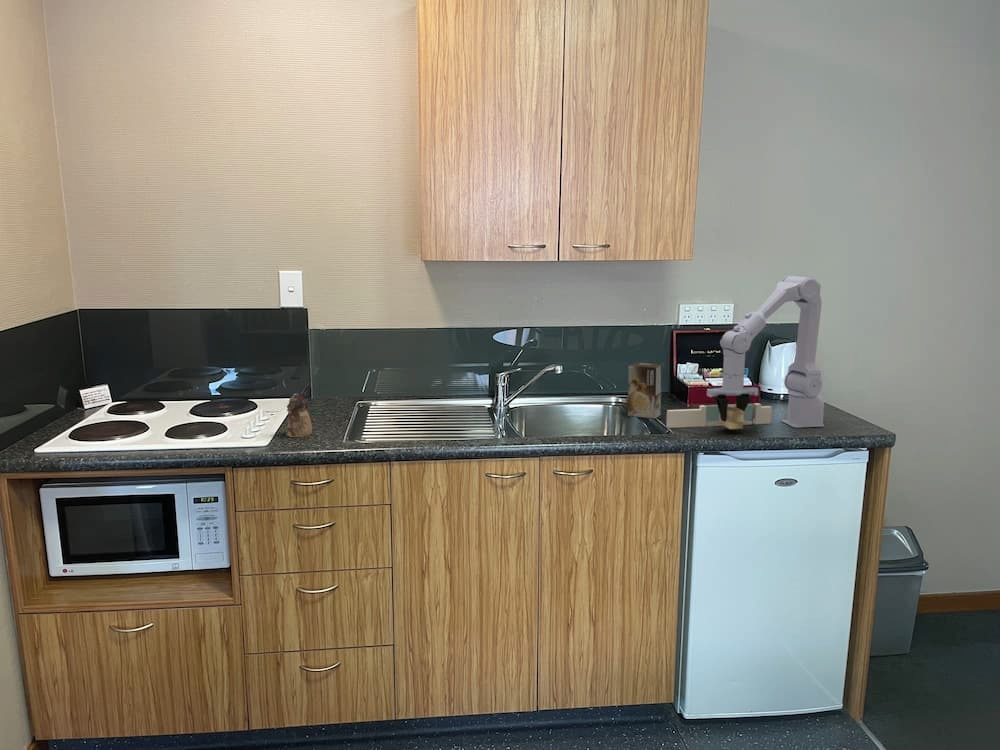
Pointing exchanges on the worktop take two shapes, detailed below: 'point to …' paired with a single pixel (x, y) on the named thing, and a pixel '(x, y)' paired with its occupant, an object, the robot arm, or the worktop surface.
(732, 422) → the doorstop
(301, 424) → the figurine
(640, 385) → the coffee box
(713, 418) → the door
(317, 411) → the worktop surface
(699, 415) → the door frame
